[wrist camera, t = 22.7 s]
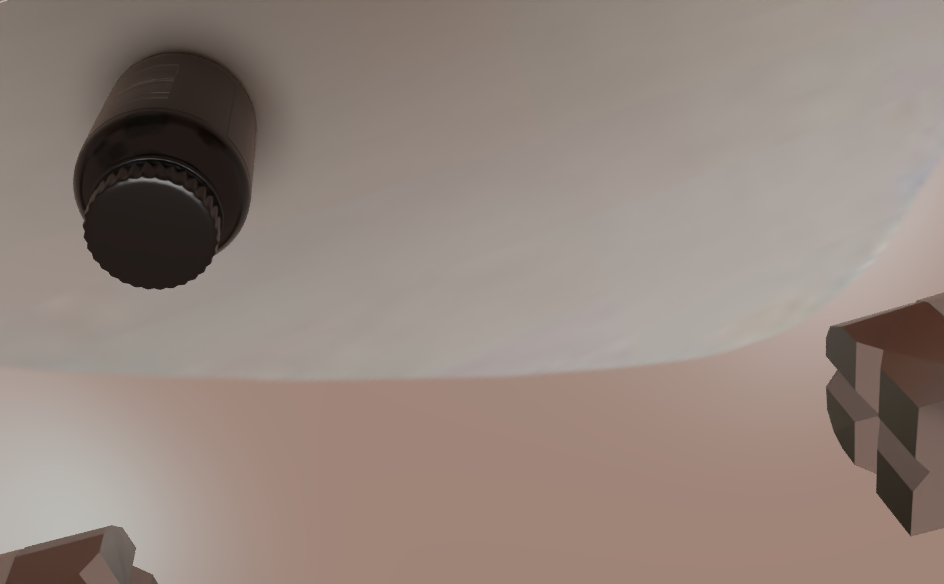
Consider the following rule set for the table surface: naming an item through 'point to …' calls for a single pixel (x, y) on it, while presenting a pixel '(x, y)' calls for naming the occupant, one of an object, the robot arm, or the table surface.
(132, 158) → the supplement bottle
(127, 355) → the table surface
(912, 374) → the robot arm
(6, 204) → the table surface
